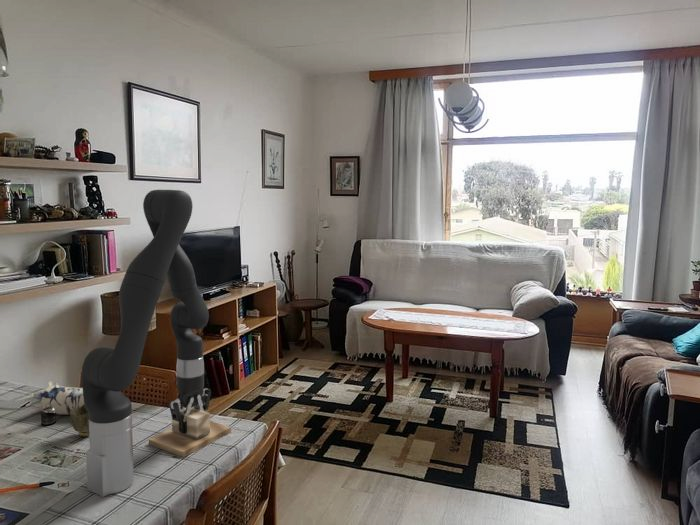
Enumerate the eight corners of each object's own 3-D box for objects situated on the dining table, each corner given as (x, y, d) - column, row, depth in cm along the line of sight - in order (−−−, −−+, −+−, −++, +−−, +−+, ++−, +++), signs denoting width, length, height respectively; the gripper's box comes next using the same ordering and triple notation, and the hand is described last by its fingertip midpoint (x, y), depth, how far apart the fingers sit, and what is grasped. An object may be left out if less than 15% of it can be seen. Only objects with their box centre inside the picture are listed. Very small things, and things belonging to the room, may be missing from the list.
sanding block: (196, 439, 140) (196, 419, 139) (172, 431, 145) (171, 411, 144) (210, 433, 144) (209, 413, 144) (185, 425, 149) (185, 405, 149)
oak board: (183, 457, 134) (183, 451, 134) (148, 444, 141) (148, 439, 141) (231, 432, 149) (231, 427, 149) (197, 421, 156) (197, 416, 156)
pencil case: (36, 417, 157) (35, 387, 156) (54, 407, 165) (52, 378, 164) (104, 420, 156) (103, 390, 155) (118, 409, 164) (117, 381, 163)
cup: (105, 430, 149) (104, 404, 148) (89, 441, 141) (88, 414, 141) (81, 428, 149) (80, 403, 149) (65, 440, 142) (63, 413, 141)
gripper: (179, 381, 135) (180, 442, 137) (218, 368, 147) (218, 423, 149) (160, 376, 139) (161, 435, 140) (200, 363, 151) (200, 417, 153)
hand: (191, 429), depth 145 cm, fingers closed on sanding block, 5 cm apart
